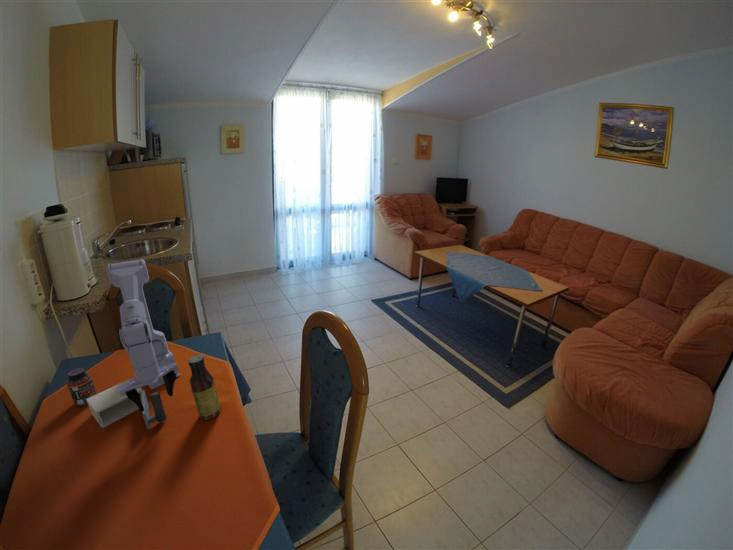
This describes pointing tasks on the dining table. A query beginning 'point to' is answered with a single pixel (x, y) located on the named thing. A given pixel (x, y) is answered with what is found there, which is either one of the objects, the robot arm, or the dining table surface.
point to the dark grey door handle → (157, 407)
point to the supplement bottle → (80, 386)
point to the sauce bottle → (203, 389)
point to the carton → (111, 405)
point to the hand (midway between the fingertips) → (156, 402)
